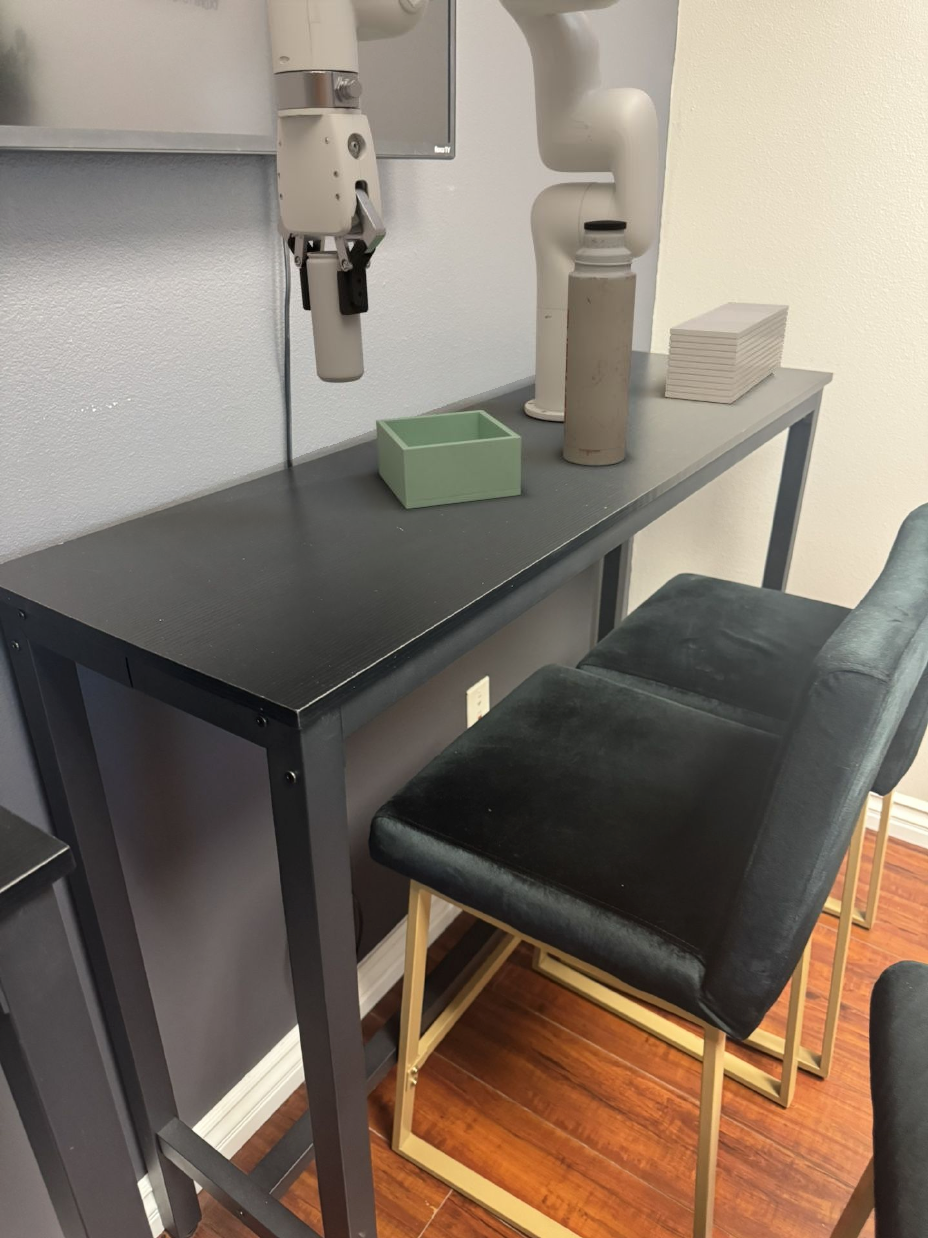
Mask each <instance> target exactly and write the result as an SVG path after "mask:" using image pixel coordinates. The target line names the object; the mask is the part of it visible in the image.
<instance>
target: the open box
mask: <svg viewBox="0 0 928 1238" xmlns="http://www.w3.org/2000/svg"><path fill="white" fill-rule="evenodd" d="M375 426H376V427H375V428H376V441H377V442H376V443H377V444H376V445H377V458H378V474H379V476H380V477H381V478H382V480H383V481H384V482H385V484H386V485H387V486H388V487H389V489H390V490H391V492H392V493H393V494H394V496H395V497H396V498H397V499H398V500H399V501H400V504H402V506H403V507H404V508H405V509H406V510H410V509H418V508H425V507H426V508H427V507H436V506H442V505H451V504H456V503H457V504H458V503H466V502H474V501H483V500H490V499H499V498H508V497H514V496H515V497H516V496H521V494H522V492H521V491H522V437H521V436H520V435H519V434H517V433H516V432H515V431H513V430H512V429H510V428H509V427H508V426H506V425H505V424H503V423H501V422H500V421H499V420H497V419H496V418H494V417H493V415H490V414H489V413H487V412H486V411H485V410H483V409H477V410H467V411H456V412H446V413H436V414H435V413H434V414H425V415H416V416H405V417H394V418H385V419H376V420H375Z"/></svg>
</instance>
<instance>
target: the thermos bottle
mask: <svg viewBox="0 0 928 1238" xmlns="http://www.w3.org/2000/svg"><path fill="white" fill-rule="evenodd" d="M626 227H627V222H623V221H615V220H599V221H591V222H585V223H584V229H585V234H584V235H583V247H582V248H581V249H580V250H579V251H577V252H576V253H575V260H574V263H575V269H574V271H572V272H570V273H569V275H568V306H567V339H566V372H565V405H564V421H563V437H562V438H563V440H562V441H563V444H562V458H563V459H564V460H565V461H567V462H568V463H569V462H570V463H573V464H576V465H581V466H595V467H596V466H598V467H599V466H600V467H601V466H610V465H615V464H618V463H621V462H623V461H624V460H625V458H626V449H627V434H628V433H627V432H628V418H629V416H628V415H629V391H630V381H631V379H630V378H631V369H632V368H631V367H632V354H633V353H632V352H633V337H634V336H633V335H634V323H635V322H634V320H635V319H634V318H635V304H636V287H637V272H636V271H634V270H632V264H633V259H634V258H632V253H631V252H630V251H629V250H628V249H626V248H625V234H624V229H626Z"/></svg>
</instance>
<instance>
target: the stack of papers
mask: <svg viewBox="0 0 928 1238" xmlns="http://www.w3.org/2000/svg"><path fill="white" fill-rule="evenodd" d="M789 307H790V306H789V304H773V303H772V304H770V303H752V302H751V303H750V302H731V301H730V302H727V303H724V304H722V305H720V306H717V307H715V308H713V309H711V310H709V311H706V312H705V313H702V314H699V315H697V316H694V317H693V318H690V319H688V320H685V321H684V322H682V323H679V324H677V325H675V326H672V327H670V329H669V334H670V335H669V343H668V354H667V363H666V364H667V366H666V379H665V392H664V397H665V398H671V399H672V398H673V399H680V400H681V399H682V400H689V401H690V400H691V401H701V402H710V403H711V402H712V403H720V404H721V403H722V404H732V403H733V402H735V401H736V400H738V399H739V398H741V396H743V395H744V394H746V393H747V392H748V391H750V390H752V389H753V388H754V387H755V386H757V385H758V384H760V383H761V382H762V381H763V380H765V379H766V378H767V377H769V376H770V375H772V374H773V373H774V372H775V371H776V370H778V369H779V368H781V366H782V359H783V350H784V344H785V337H786V336H785V335H786V330H787V329H786V328H787V322H788V313H789V312H788V311H789Z"/></svg>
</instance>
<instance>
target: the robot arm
mask: <svg viewBox="0 0 928 1238" xmlns="http://www.w3.org/2000/svg"><path fill="white" fill-rule="evenodd" d="M498 1H499V3H500V4H501V6H502V7H503V9H505V11H506V12H507V13H508V14H509V16H511V18H512V19H513V20H514V22H515V23H516V25H517V26H518V28H519V29H520V31H521V33H522V34H523V37H524V38H525V41H526V43H527V45H528V48H529V51H530V55H531V60H532V61H531V62H532V71H533V84H534V102H535V119H536V121H535V122H536V137H537V146H538V147H537V148H538V153H539V157H540V160H541V162H542V164H543V166H545V168H546V169H548V170H550V171H554V172H559V173H611V174H612V176H613V180H614V181H613V182H599V181H598V182H597V181H579V182H578V181H574V182H573V181H572V182H561V183H557V184H552V185H550V186H548V187H546V188H544V189H542V191H541V192H540V193H539V194H538V195H536V197H535V199H534V201H533V203H532V206H531V212H530V231H531V238H532V243H533V251H534V257H535V269H536V270H535V272H536V310H535V311H536V313H535V314H536V315H535V316H536V319H535V374H534V375H535V378H534V380H535V381H534V382H535V383H534V398H533V399H530V400H528V401H526V403H525V404H524V413H525V414H526V415H527V416H528V417H532V418H534V419H539V420H543V421H550V422H564V405H565V372H566V339H567V306H568V275H569V273H570V272H572V271H574V269H575V263H574V260H575V253H576V252H577V251H579V250H580V249H581V248H582V247H583V235H584V234H585V229H584V223H585V222H591V221H599V220H615V221H623V222H627V227H626V229H624V234H625V248H626V249H628V250H629V251H630V252H631V253H632V258H633V259H636V258H640V257H642V256H643V255H645V254H646V253H648V251H649V250H650V249H651V247H652V246H653V243H654V240H655V236H656V231H657V225H658V206H659V205H658V202H659V199H658V198H659V142H660V141H659V121H658V114H657V110H656V108H655V104H654V102H653V100H652V98H651V97H650V96H649V95H648V93H646V92H645V91H643V90H641V89H639V88H634V87H616V88H604V87H603V86H602V81H601V80H602V79H601V58H600V53H601V52H600V44H599V39H598V36H597V34H596V31H595V29H594V28H593V25H592V23H591V22H590V20H589V19H588V16H587V15H586V14H585V13H584V12H586V11H587V12H588V11H597V10H598V11H599V10H604V9H608V8H610V7H612V6H614V5H616V4H618V2H620V0H498ZM429 2H433V0H266V8H267V17H268V28H269V38H270V49H271V50H270V51H271V59H272V68H273V69H272V70H273V71H272V72H273V81H274V91H275V101H276V102H275V103H276V112H277V122H276V123H277V124H276V125H277V126H276V175H277V191H278V201H279V203H278V204H279V210H280V216H279V217H280V218H279V220H278V223H277V225H276V227H277V232H278V234H279V235H280V236H281V238H282V239H283V240H284V241H285V243H286V244H287V247H288V249H289V250H290V252H291V253H292V255H293V262H294V265H295V266H296V267H297V268H298V271H299V279H300V280H299V281H300V283H299V284H300V293H301V302H302V308H303V310H304V311H309V312H311V305H310V294H309V284H308V273H307V260H308V259H309V257H308V256H307V253H309V252H316V251H325V246H326V244H325V243H326V237H333V240H334V244H335V248H336V251H337V252H338V256H339V261H340V265H341V268H342V271H337V282H338V294H339V307H340V313H341V314H342V315H353V314H359V313H360V314H364V313H367V312H369V297H368V296H369V295H368V294H369V293H368V279H367V270H368V269H370V267H371V264H372V263H371V259H372V257H373V255H374V254H375V252H376V251H377V247H378V246H379V245H380V243H381V242H382V241H383V240H384V239H385V237H386V235H387V230H386V227H385V225H384V223H383V210H382V209H383V207H382V198H381V197H382V196H381V188H380V187H381V186H380V178H379V177H380V176H379V169H378V162H377V156H376V149H375V145H374V139H373V135H372V131H371V127H370V123H369V119H368V116H367V114H362V101H361V99H362V98H361V95H362V94H363V87H362V83H361V82H360V75H359V74H360V69H359V68H360V66H359V54H358V53H359V51H358V43H359V42H373V41H380V40H389V39H395V38H399V37H403V36H404V35H407V34H409V33H410V32H412V31H413V30H415V28H417V27H418V26H419V25H420V23H421V22H422V21H423V19H424V17H425V15H426V13H427V10H428V7H429ZM311 242H312V244H311ZM349 243H353V245H352V247H351V248H350V245H349Z"/></svg>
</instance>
